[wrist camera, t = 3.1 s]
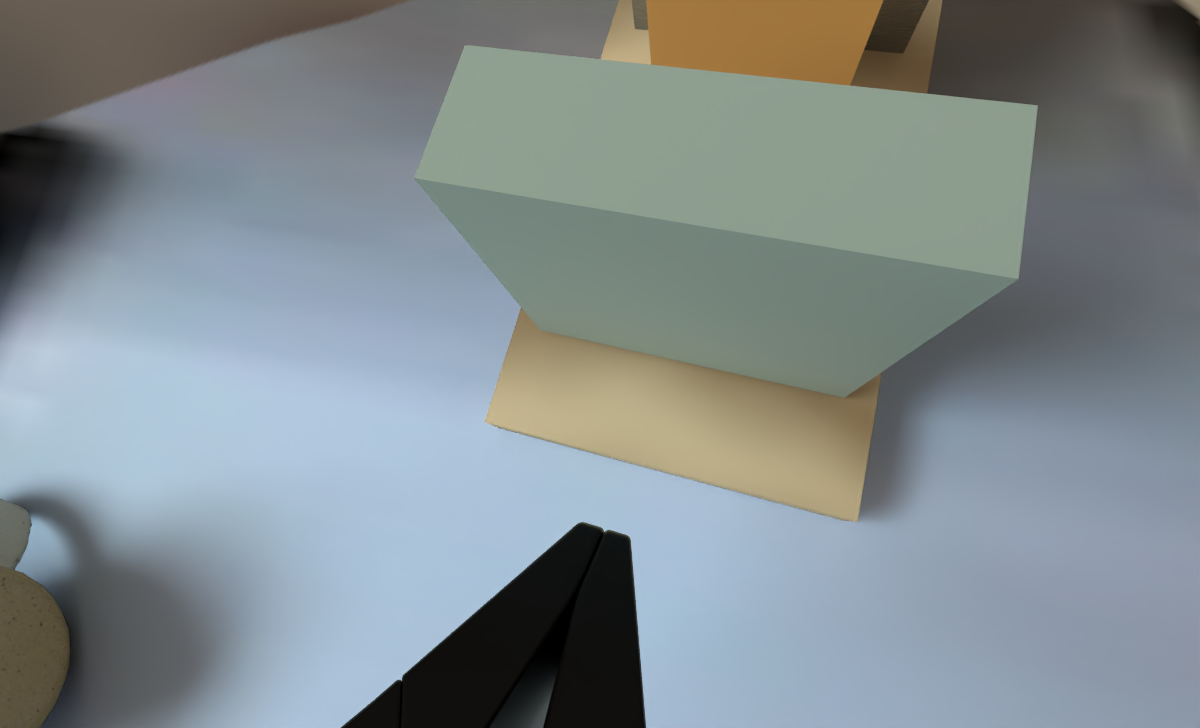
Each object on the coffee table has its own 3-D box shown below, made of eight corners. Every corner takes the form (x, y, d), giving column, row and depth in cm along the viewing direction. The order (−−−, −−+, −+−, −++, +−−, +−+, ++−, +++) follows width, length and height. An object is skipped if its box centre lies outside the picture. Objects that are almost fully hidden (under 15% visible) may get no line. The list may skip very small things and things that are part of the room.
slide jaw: (844, 397, 16) (1018, 278, 8) (540, 330, 18) (413, 178, 10) (860, 307, 17) (1038, 105, 8) (564, 252, 19) (465, 45, 11)
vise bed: (843, 520, 17) (857, 521, 16) (499, 428, 20) (484, 422, 18) (928, 13, 21) (946, -22, 20) (635, -9, 24) (632, -42, 22)
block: (823, 153, 19) (899, -42, 12) (656, 131, 20) (641, -56, 13) (838, 82, 19) (918, -141, 13) (675, 65, 21) (670, -146, 14)
